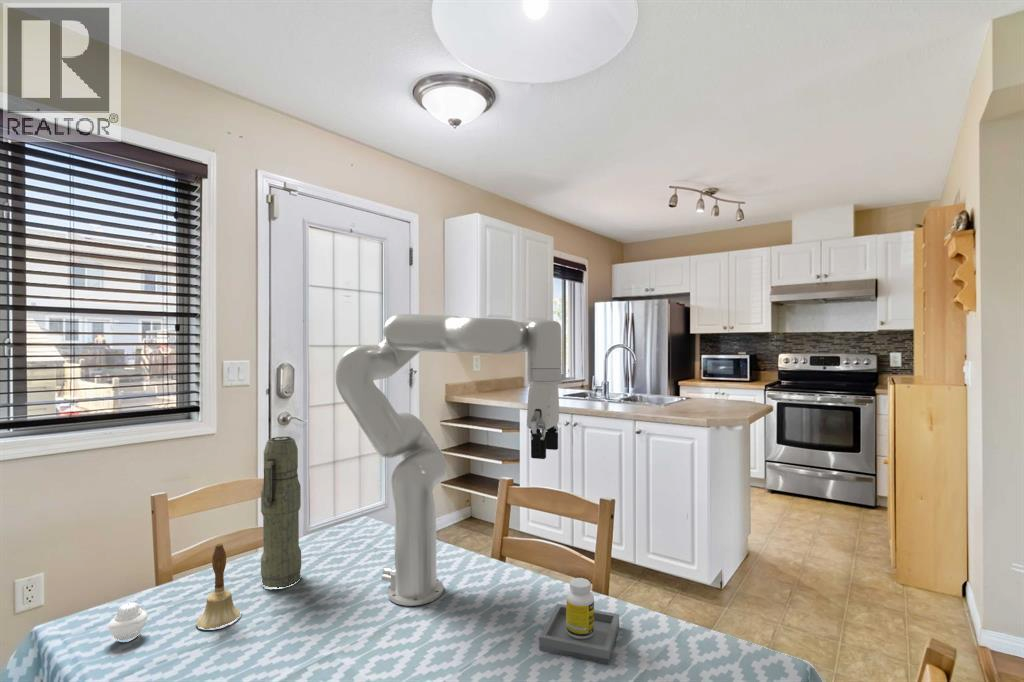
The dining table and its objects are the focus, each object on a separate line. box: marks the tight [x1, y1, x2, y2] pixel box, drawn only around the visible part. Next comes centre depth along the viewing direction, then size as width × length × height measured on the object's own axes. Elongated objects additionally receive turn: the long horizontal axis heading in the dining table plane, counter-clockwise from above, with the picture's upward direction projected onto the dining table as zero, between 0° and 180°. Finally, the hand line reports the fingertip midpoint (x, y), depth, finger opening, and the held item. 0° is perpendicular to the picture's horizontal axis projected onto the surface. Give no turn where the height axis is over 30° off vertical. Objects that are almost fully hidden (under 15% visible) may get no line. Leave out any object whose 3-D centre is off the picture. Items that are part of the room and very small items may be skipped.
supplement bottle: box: [565, 577, 595, 639], centre depth 99 cm, size 5×5×10 cm
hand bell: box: [196, 543, 241, 629], centre depth 106 cm, size 8×8×16 cm
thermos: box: [260, 436, 302, 588], centre depth 124 cm, size 9×12×35 cm
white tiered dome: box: [108, 602, 149, 641], centre depth 100 cm, size 6×6×7 cm
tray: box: [538, 603, 620, 666], centre depth 99 cm, size 13×13×2 cm
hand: (545, 453), depth 112 cm, fingers open, 9 cm apart
